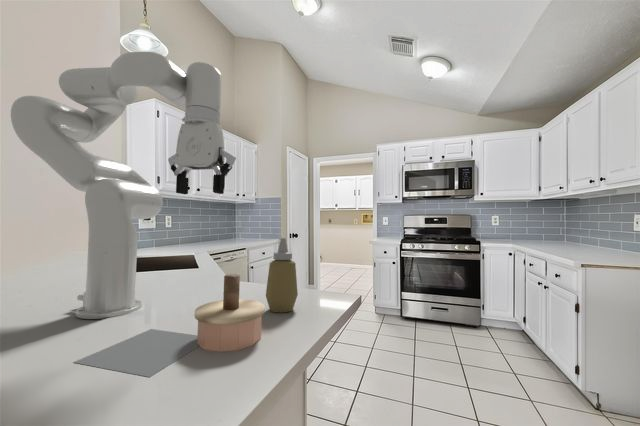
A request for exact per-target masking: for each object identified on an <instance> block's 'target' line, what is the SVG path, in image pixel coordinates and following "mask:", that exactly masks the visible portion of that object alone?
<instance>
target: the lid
mask: <svg viewBox="0 0 640 426" xmlns="http://www.w3.org/2000/svg"><path fill="white" fill-rule="evenodd" d="M240 276H241V275H240V274H236V273H234V274H226V275H224V276H223V300H222V299H221V300H215V301H211V302H207V303H204V304H201V305H199V306H197V308H195V310H194V319H196V320H197V322H198V321H200V322H204V323H209V324H234V323H241V322H246V321H250V320H253V319H256V318H258V317H260V316H263V315H264V314H265V310H266V306H265V304H264V303H262V302H260V301H257V300H253V299H247V298H246V299H242V298H240V282H241V281H240V279H241V277H240Z"/></svg>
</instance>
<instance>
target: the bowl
mask: <svg viewBox="0 0 640 426" xmlns="http://www.w3.org/2000/svg"><path fill="white" fill-rule="evenodd" d="M262 316H263V315H262ZM262 316H260V317H258V318H256V319H253V320H250V321H246V322H241V323H234V324H209V323H204V322H200V321H198V320H197V335H198V336H197V344H199V345H200V346H199V347H200V348H202V349H203V350H205V351H211V352H212V351H213V352H219V353H221V352H222V353H223V352H232V351H240V350H242V349H246V348H249V347H251V346H254V345H255V344H256V343H257V342H259V341H260V340H261V339H262V318H263V317H262Z"/></svg>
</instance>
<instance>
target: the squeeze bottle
mask: <svg viewBox="0 0 640 426" xmlns="http://www.w3.org/2000/svg"><path fill="white" fill-rule="evenodd" d="M278 245H279V246H278V250H277V251H276V252H273V260H272V261H271V262H269V265H268V266H269V267H268V276H267V280H266V281H267V283H266V290H265V298H266V301H267V305H268V308H269V310H270V311H271V312H273V313H288V312H291V311H293V310H294V307H295V303H296V301H297V298H298V294H299V293H298V283H297V280H298V279H297V266H296V262H295V261H293V260H292V259H293V253H292V252H289V249H288V244H287V238H285V237H284V238H280V242H279V244H278Z"/></svg>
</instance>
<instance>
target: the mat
mask: <svg viewBox="0 0 640 426" xmlns="http://www.w3.org/2000/svg"><path fill="white" fill-rule="evenodd" d="M197 336H198V334H192V333H191V334H189V333H182V332H176V331H170V330H169V331H167V330H161V329H153V328H151V329H148V330H146V331H143V332H141V333H138V334H136V335H134V336H132V337H129V338H127V339H124V340H122V341H120V342H118V343H115V344H112V345H110V346H109V347H106V348H104V349H101V350H98V351H96V352H93V353H92V354H89V355H86V356H85V357H83V358H80V359H77V360H76V361H74V362H73V363H74V364H78V365H81V366H82V365H83V366H88V367H92V368H93V367H94V368H97V369H98V368H99V369H104V370H108V371H113V372H119V373H124V374H129V375H134V376H139V377H140V376H141V377H145V378H151V377H153V376H155V375H156V374H158V373H159V372H161V371H163V370H165V369H166V368H167V367H169V366H170V365H172V364H174V363H175V362H177V361H178V360H180V359H181V358H183V357H185V356H187V355H188V354H189V353H191V352H193V351H194V350H196V349H198V348H199V347H201V346H200V345H199V344H197Z"/></svg>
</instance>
